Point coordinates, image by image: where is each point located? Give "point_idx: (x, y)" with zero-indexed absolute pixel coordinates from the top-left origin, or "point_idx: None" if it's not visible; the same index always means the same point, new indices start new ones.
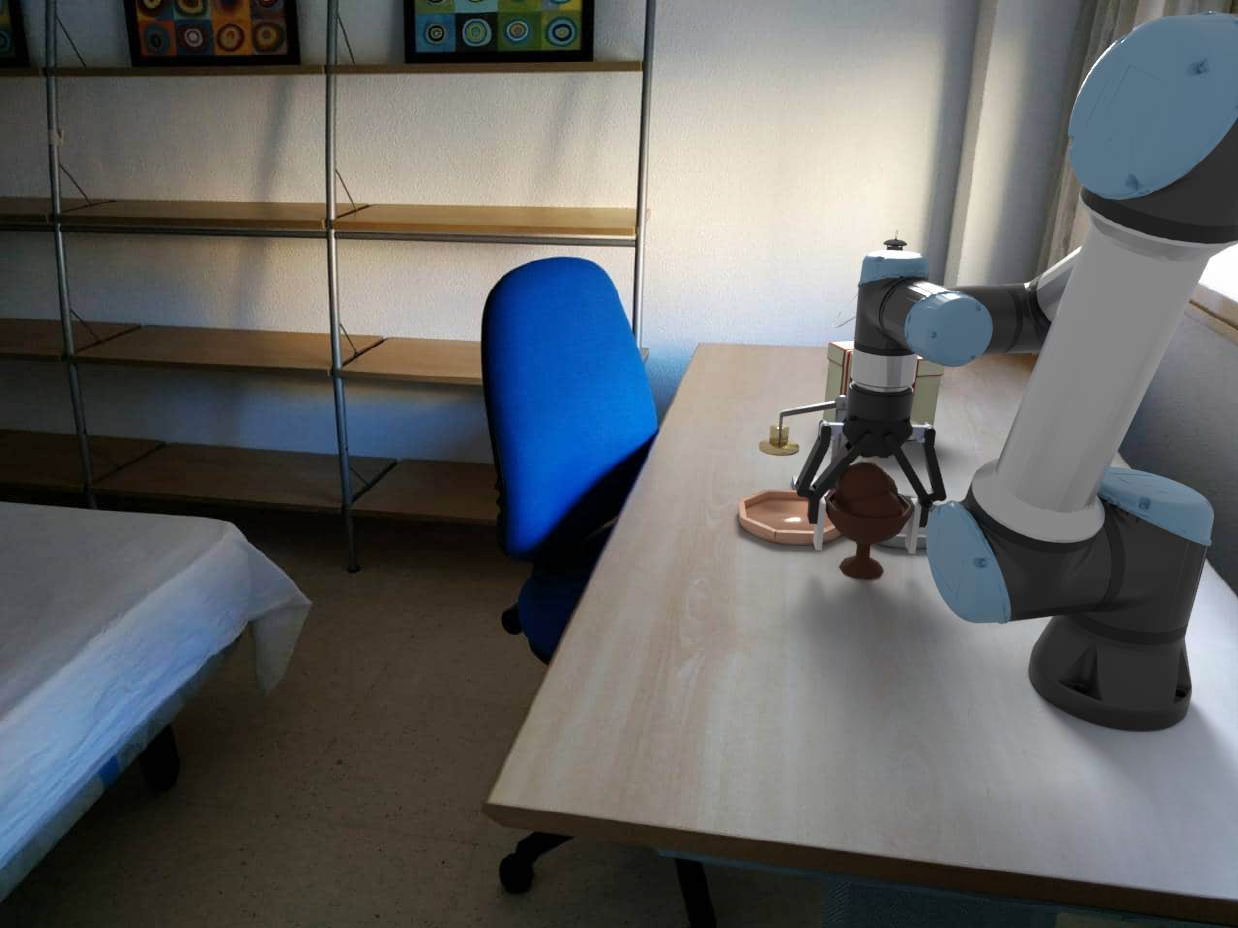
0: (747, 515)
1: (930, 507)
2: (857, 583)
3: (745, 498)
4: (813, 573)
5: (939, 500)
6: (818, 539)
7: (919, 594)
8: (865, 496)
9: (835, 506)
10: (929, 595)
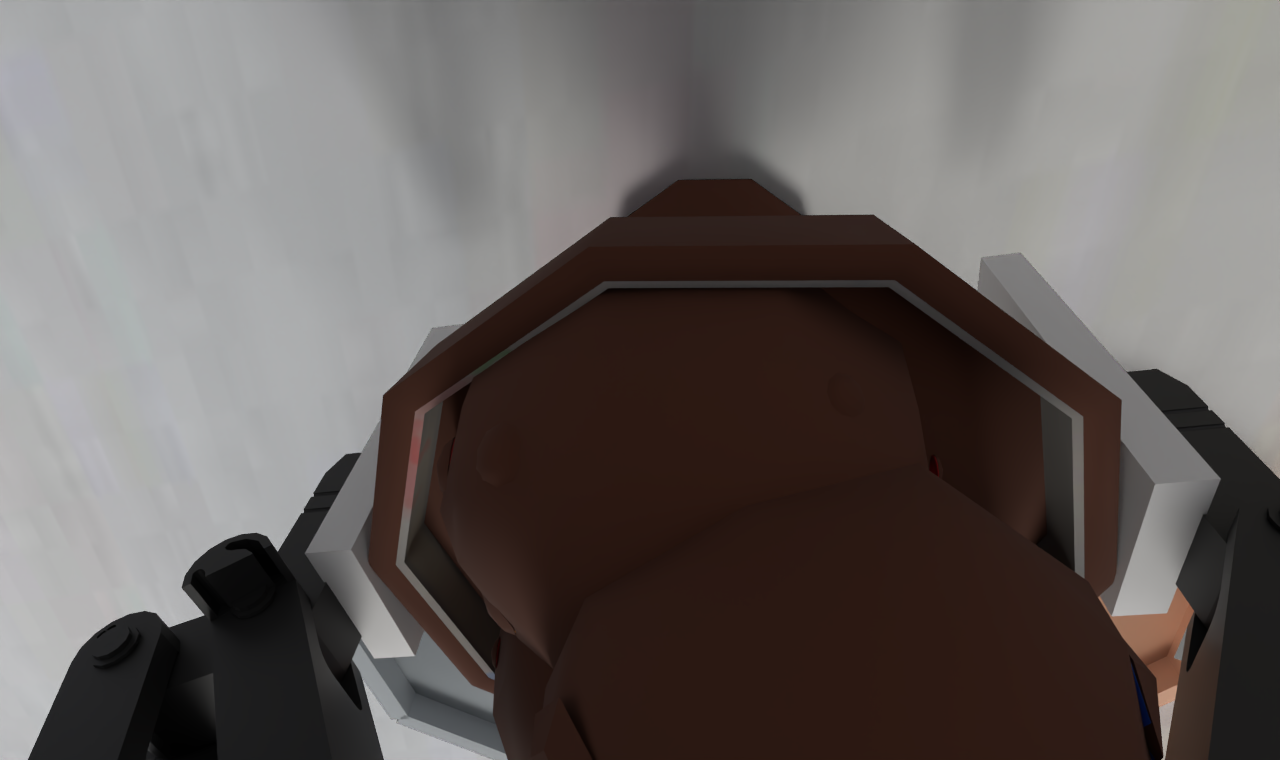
0: (1176, 607)
1: (455, 717)
2: (740, 116)
3: (1167, 698)
4: (974, 180)
5: (152, 618)
6: (1040, 290)
7: (406, 64)
8: (830, 512)
9: (1007, 504)
10: (354, 66)
